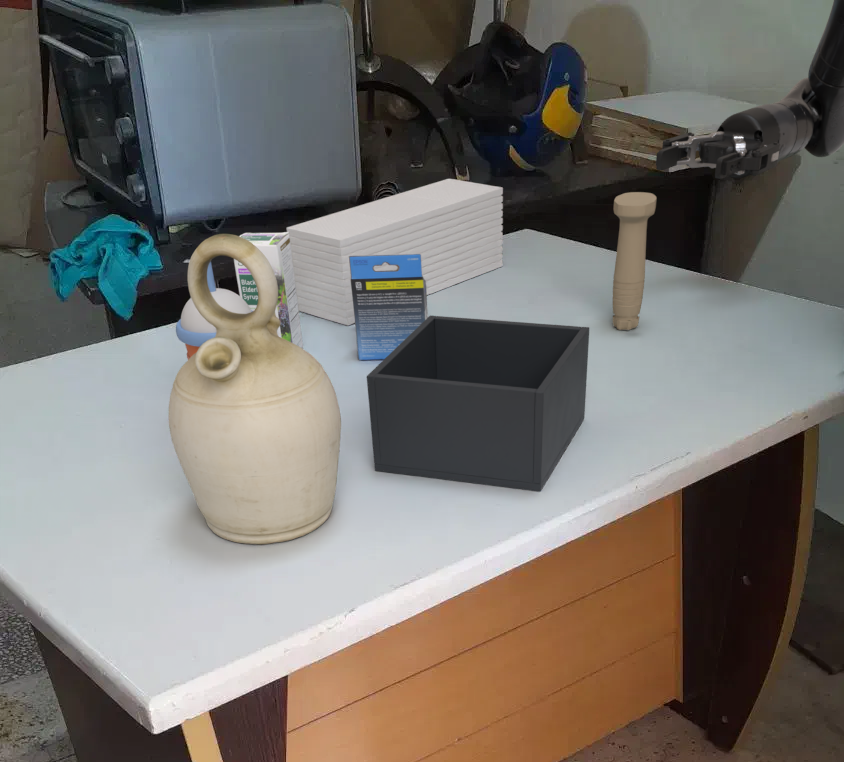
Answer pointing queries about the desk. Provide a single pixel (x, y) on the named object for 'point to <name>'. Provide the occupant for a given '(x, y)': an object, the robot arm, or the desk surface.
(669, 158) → the robot arm
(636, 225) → the handle
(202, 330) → the cup with straw
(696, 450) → the desk surface
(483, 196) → the white rectangular block
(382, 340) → the tape cartridge
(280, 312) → the syrup box
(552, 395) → the bin
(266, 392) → the jug
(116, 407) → the desk surface
